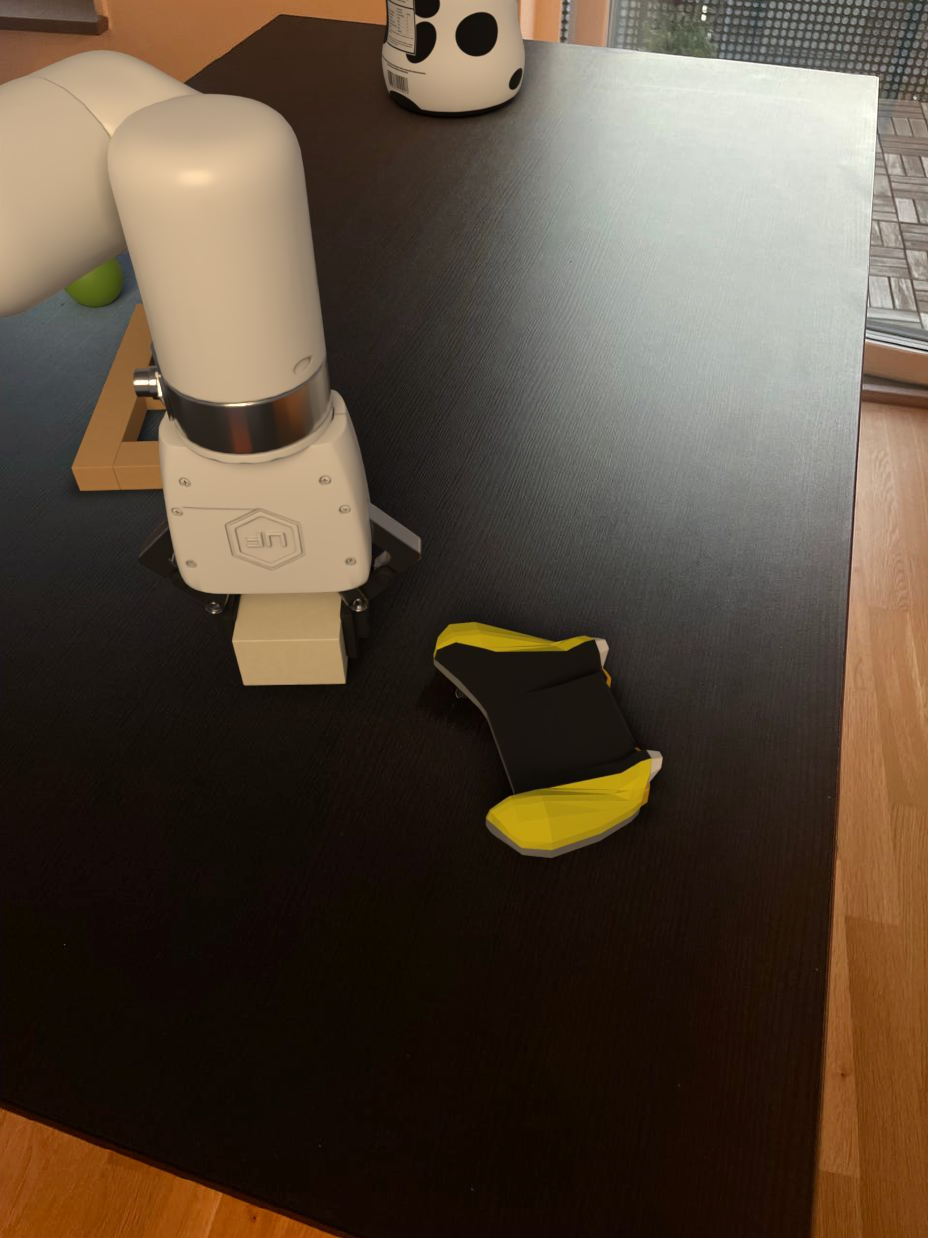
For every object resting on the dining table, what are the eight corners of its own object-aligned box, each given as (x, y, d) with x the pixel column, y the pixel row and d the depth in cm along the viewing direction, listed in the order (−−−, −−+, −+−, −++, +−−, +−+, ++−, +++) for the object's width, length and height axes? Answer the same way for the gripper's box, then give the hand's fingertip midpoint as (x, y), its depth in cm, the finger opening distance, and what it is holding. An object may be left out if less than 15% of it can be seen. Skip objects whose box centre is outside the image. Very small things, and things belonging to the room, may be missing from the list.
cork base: (81, 494, 74) (70, 467, 72) (143, 328, 89) (136, 302, 87) (256, 490, 74) (250, 463, 72) (288, 324, 89) (284, 298, 87)
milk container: (535, 80, 128) (540, -87, 115) (508, 134, 117) (511, -45, 104) (406, 72, 131) (396, -92, 118) (367, 123, 120) (352, -52, 107)
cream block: (243, 685, 58) (231, 641, 56) (256, 611, 62) (245, 565, 60) (345, 684, 59) (339, 639, 56) (351, 609, 63) (345, 564, 60)
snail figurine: (118, 323, 90) (78, 191, 81) (58, 313, 91) (12, 182, 83) (150, 294, 93) (115, 164, 85) (91, 284, 95) (50, 155, 86)
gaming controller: (496, 895, 51) (677, 848, 53) (497, 839, 47) (693, 791, 49) (428, 678, 61) (582, 644, 63) (424, 617, 57) (588, 582, 59)
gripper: (45, 442, 44) (143, 693, 58) (433, 437, 44) (441, 688, 58) (85, 348, 49) (167, 598, 63) (433, 343, 49) (441, 594, 63)
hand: (298, 639), depth 60 cm, fingers closed on cream block, 6 cm apart
